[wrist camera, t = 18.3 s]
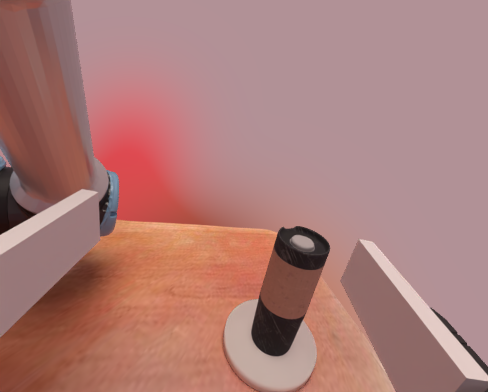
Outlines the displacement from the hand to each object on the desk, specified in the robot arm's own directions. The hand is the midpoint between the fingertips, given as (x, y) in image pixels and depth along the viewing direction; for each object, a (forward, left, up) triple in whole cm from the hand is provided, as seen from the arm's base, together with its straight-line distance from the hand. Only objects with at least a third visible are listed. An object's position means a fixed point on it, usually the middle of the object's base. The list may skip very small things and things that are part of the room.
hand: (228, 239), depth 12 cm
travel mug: (-9, +20, -30) cm, 37 cm away
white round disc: (-9, +20, -32) cm, 39 cm away
